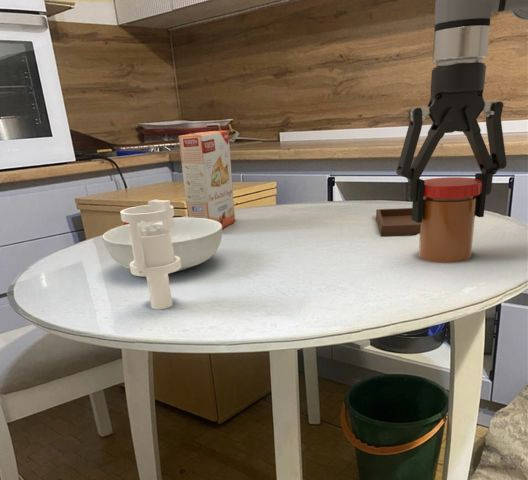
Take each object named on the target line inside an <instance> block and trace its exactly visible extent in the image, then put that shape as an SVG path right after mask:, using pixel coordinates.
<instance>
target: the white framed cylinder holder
mask: <svg viewBox="0 0 528 480" xmlns="http://www.w3.org/2000/svg"><path fill="white" fill-rule="evenodd" d="M119 214H120V220H121V222H123V223H124V222H127V223H129V224H130V225H128V226H129V228H128V230H129V232H130V238H131V243H132V249H133V255H134V261H132V262H131V263H130V269H129V270H130V273H131V275H133V276H136V277H146V282H147V283H146V284H147V288H148V294H149V301H150V308H151V309H153V310H166V309H169V308H171V307H172V306H173V299H172V292H171V286H170V285H171V284H170V279H169V274H172V273H176V272H175V271H177V270H179V269H180V268H181V260H180V257H178V256H175V255H174V250H173V245H172V242H171V235H170V228H172V227H173V219H172V218H174V216H175V210H174V205H171V200H167V199H165V200H164V199H163V200H162V199H161V200H159V199H152V200H150V201H147V204H145V205H138V206H132V207H128V208H123V209H122V210H120V211H119ZM143 221H145V222H154V221H155V223H154V224H151V226H152V228H154V229H156V230H155V231H151V228H150V226H145V225H141V226H139V223H141V222H143Z"/></svg>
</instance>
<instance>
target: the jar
mask: <svg viewBox="0 0 528 480" xmlns="http://www.w3.org/2000/svg"><path fill="white" fill-rule="evenodd" d="M476 201H477V197H476V196H471V197H463V198H429V197H424V199H423V216H422V222H421V223H420V233H419V239H418V241H419V242H418V258H419V259H421V260H423V261H427V262H432V263H441V264H442V263H443V264H444V263H445V264H447V263H448V264H449V263H451V264H452V263H460V262H464V261H468V260H470V259H471V257H472V251H473V243H474V230H475V222H476V221H475V220H476V216H475V211H476Z"/></svg>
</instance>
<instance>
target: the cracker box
mask: <svg viewBox="0 0 528 480" xmlns="http://www.w3.org/2000/svg"><path fill="white" fill-rule="evenodd" d="M229 134H230V132H229V130H213V131H211V130H210V131H201V132H195V133H188V134H181V135H178V142H179V143H178V144H179V153H180V161H181V167H182V168H181V170H182V177H183V178H182V179H183V188H184V196H185V197H184V198H185V205H186V215H187V217H188V218H205V219H211V220H215V221H217V222H219V223H221V225H222V229H224V228H225V227H227V226H229V225H231V224H234V223H235V222H236V215H235V205H234V204H235V202H234V201H235V200H234V188H233V176H232V175H233V174H232V162H231V161H232V160H231V147H230V146H231V145H230V135H229Z"/></svg>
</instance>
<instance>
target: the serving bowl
mask: <svg viewBox="0 0 528 480" xmlns="http://www.w3.org/2000/svg"><path fill="white" fill-rule="evenodd" d="M172 219H173V227H172V228H170V235H171V242H172V245H173V250H174V255H175V256H178V257H180V260H181V268H180V269H179V270H177V271H175V272H174V273H177V272H182V271H184V270H187V269H190V268H194V267H195V266H198V265H201V264H202V263H204V262H206V261H208V260H209V259H211V258H212V256H214V254H215V253H216V252H217V251H218V249H219V247H220V245H221V242H222V237H223V228H222V225H221V223H219V222H217V221H215V220H211V219H205V218H188V216H185V217H172ZM154 223H155V221H154V222H145V221H143V222H141V223H139V226H141V225H145V226H150V228H151V231H155V230H156V229H154V228H152V226H151V224H154ZM128 225H130V224H127V225H124V224H123V225H119V226H116V227H114V228H113V227H112V228H111V229H109V230H107V231H106V232H104V233H103V234H102V241H103V244H104V247H105V249H106V251H107V253H108V254H109V256H110V257H111V258H112V259H113V260H114V261H115V262H116V263H117V264H118V265H120V266H121V267H124V268H127V269H128V270H130V263H131V262H132V261H134V255H133V249H132V243H131V238H130V232H129V230H128V228H129V226H128Z"/></svg>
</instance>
